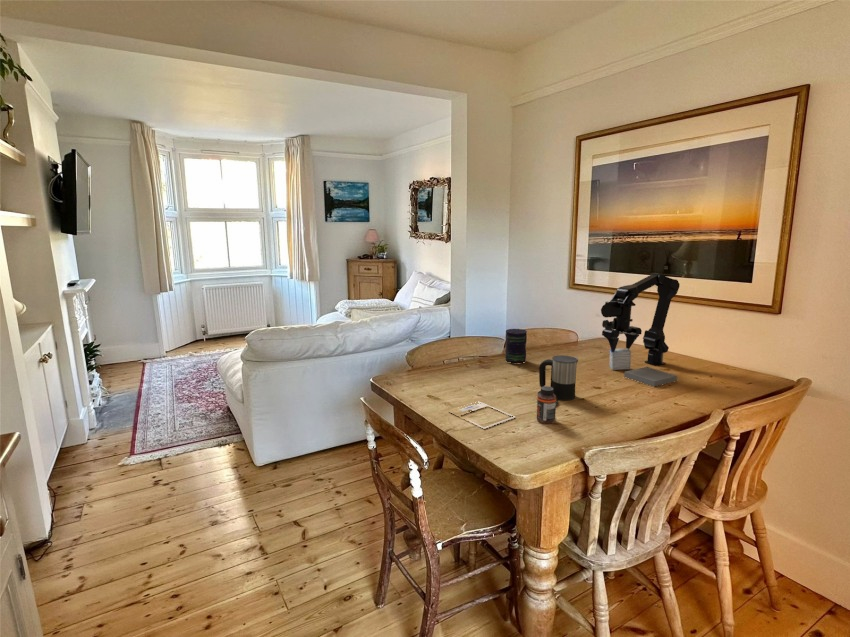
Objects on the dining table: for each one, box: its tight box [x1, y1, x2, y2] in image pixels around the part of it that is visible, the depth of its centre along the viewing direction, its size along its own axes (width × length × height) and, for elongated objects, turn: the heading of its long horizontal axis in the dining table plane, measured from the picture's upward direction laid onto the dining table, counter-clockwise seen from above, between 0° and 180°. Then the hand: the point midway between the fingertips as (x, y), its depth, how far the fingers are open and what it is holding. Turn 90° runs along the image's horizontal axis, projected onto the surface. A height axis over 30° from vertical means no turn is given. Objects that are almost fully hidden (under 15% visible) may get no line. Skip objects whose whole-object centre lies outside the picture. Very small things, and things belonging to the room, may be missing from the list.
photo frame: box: [459, 400, 517, 430], centre depth 154 cm, size 15×1×18 cm
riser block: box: [623, 366, 678, 388], centre depth 188 cm, size 14×14×3 cm
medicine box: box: [608, 347, 632, 371], centre depth 201 cm, size 8×4×9 cm, turn 84°
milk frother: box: [537, 355, 579, 405], centre depth 166 cm, size 14×16×15 cm
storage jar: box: [504, 328, 528, 363], centre depth 214 cm, size 10×10×15 cm
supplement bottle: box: [536, 385, 557, 425], centre depth 148 cm, size 6×6×11 cm
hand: (620, 350), depth 201 cm, fingers open, 9 cm apart
